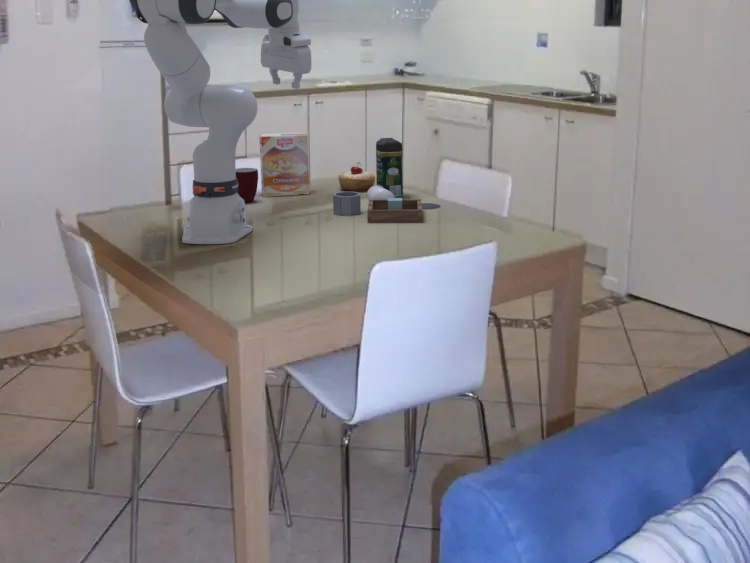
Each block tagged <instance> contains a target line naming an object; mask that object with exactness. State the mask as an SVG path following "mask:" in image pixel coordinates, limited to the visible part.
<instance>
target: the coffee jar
mask: <svg viewBox="0 0 750 563" xmlns="http://www.w3.org/2000/svg"><path fill="white" fill-rule="evenodd" d="M403 149H404V148H403V143H402V142H400V141H399V140H398V139H397V140H396V139H395V138H393V137H381V138H379V139H378V140H377V141H376V142H375V159H376V160H375V162H376V163H375V165H376V166H375V167H376V171H375V173H376V174H375V175H376V185H378V186H381V187H383V188H384V189H386V190H388V191H390V192H392V193H393V195H394V197H395V198H402V197H403V196H404V193H403V192H404V189H403V185H404V184H403V152H404V151H403Z"/></svg>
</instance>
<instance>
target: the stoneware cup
mask: <svg viewBox="0 0 750 563" xmlns="http://www.w3.org/2000/svg"><path fill="white" fill-rule="evenodd" d="M361 194H362V193H361V192H359V191H338V192H333V194H332V200H333V201H332V202H333V205H332V206H333V208H332V209H333V215H337V216H356V215H360V214H361V212H362V206H361V205H362V202H361V201H362V200H361Z"/></svg>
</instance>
